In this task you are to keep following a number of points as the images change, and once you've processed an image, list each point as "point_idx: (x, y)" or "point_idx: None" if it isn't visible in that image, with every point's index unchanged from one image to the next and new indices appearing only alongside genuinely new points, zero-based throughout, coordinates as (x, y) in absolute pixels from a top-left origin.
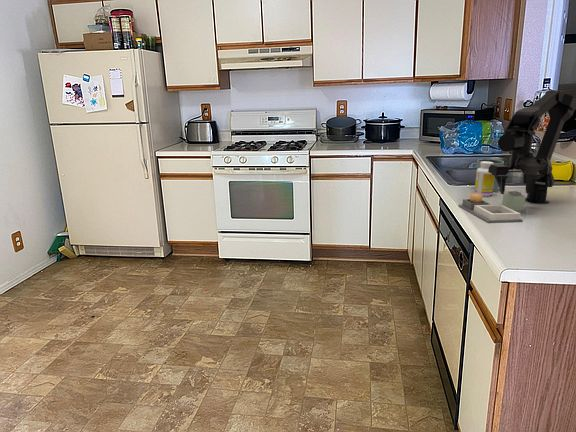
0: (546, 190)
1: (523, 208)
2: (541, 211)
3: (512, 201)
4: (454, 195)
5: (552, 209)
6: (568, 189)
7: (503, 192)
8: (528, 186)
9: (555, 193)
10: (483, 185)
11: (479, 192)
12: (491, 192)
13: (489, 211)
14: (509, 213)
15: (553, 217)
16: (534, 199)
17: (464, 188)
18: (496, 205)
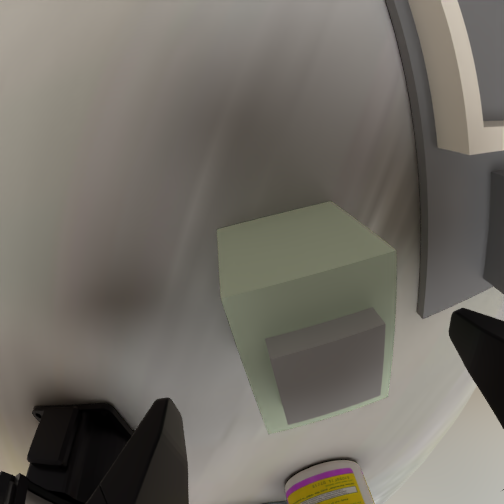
0: (31, 464)
1: (221, 232)
2: (78, 208)
3: (366, 231)
4: (443, 423)
5: (8, 282)
6: None
7: (470, 315)
8: (164, 472)
9: None
10: (358, 499)
11: (356, 469)
12: (303, 483)
13: (497, 117)
14: None
15: (52, 37)
16: (98, 428)
17: None
18: (500, 126)
